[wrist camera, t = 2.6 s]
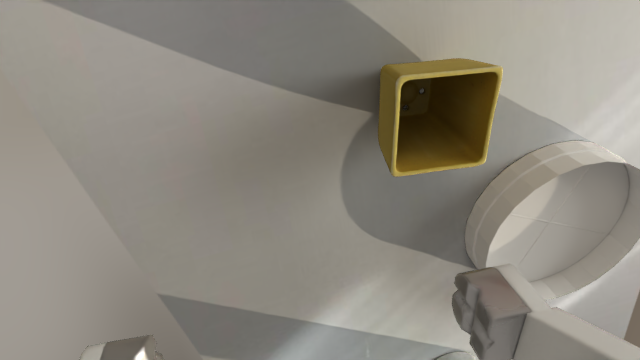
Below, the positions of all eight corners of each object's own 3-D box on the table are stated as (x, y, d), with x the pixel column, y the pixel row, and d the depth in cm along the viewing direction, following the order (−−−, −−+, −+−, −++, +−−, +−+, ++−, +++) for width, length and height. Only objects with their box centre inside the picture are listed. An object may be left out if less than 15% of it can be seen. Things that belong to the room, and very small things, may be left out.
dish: (435, 267, 54) (452, 295, 49) (523, 121, 44) (553, 140, 40) (556, 283, 60) (580, 309, 56) (654, 160, 51) (692, 180, 46)
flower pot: (363, 49, 36) (397, 76, 29) (451, 41, 38) (506, 65, 30) (362, 135, 41) (390, 178, 33) (440, 126, 42) (485, 165, 35)
